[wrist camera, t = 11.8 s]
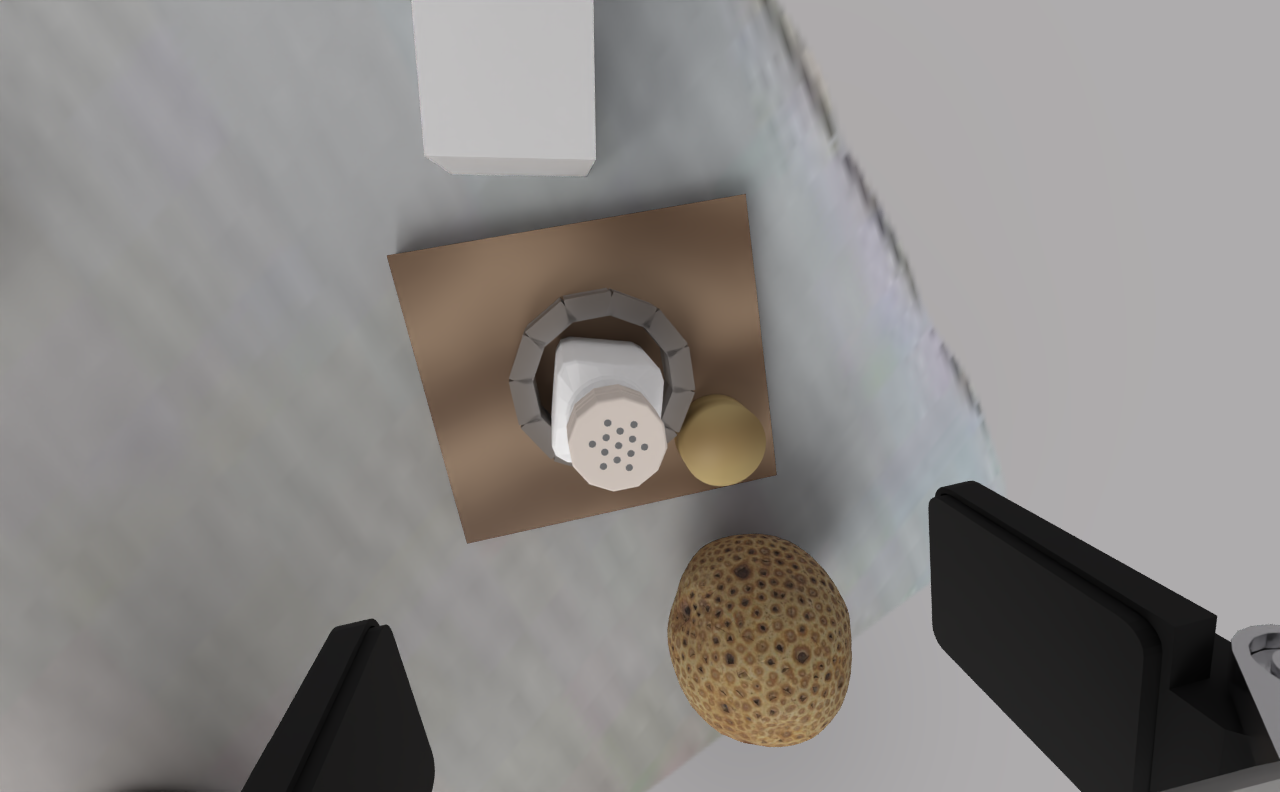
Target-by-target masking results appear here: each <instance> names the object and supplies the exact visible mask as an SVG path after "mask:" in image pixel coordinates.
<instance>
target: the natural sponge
mask: <svg viewBox="0 0 1280 792" xmlns="http://www.w3.org/2000/svg"><path fill="white" fill-rule="evenodd" d="M667 632H668V645H669V651H670V656H671V660H672V664H673V667H674V670H675V673H676V675H677V678H678V681H679V684H680V686H681V688H682V690H683V692H684V694H685V696H686V697H687V699H688V701H689V703H690V704H691V706H692V707H693V708H694V709H695V710H696V711H697V713H698V714H699V715H700V716H701V717H702V718H703V719H704V720H705V721H706V722H707V723H708V724H709V725H710V726H712V727H713V728H714V729H716V730H717V731H718V732H720V733H721V734H723V735H726V736H728V737H731V738H733V739H735V740H737V741H740V742H743V743H748V744H755V745H760V746H766V747H783V746H791V745H795V744H799V743H802V742H804V741H807V740H809V739H811V738H813V737H815V736H816V735H817V734H819V733H820V732H821V731H822V730H823V729H824V728H825V727H826V726H827V725H828V724H829V723H830V722H831V720H832V719H833V718H834V717H835V715H836V714H837V712H838V711H839V709H840V707H841V706H842V703H843V700H844V698H845V695H846V692H847V689H848V685H849V680H850V674H851V661H852V651H851V630H850V619H849V613H848V609H847V607H846V605H845V602H844V600H843V598H842V597H841V595H840V593H839V591H838V589H837V587H836V586H835V584H834V583H833V581H832V580H831V578H830V577H829V576H828V574H827V573H826V572H825V570H824V569H823V568H822V567H821V566H820V565H819V564H818V563H817V562H816V561H815V560H814V559H813V558H812V557H811V556H810V555H809V554H808V553H806V552H805V551H804V550H802V549H801V548H799V547H798V546H797V545H795V544H793V543H791V542H789V541H787V540H783V539H781V538H778V537H776V536H771V535H764V534H743V535H733V536H728V537H725V538H722V539H718V540H715V541H712V542H711V543H709V544H707V545H705V546H704V547H702V548H701V549H700V550H699V551H698V552H697V553H696V554H695V555H694V557H693V558H692V560H691V561H690V563H689V564H688V566H687V568H686V570H685V572H684V573H683V575H682V578H681V580H680V583H679V586H678V591H677V594H676V597H675V600H674V603H673V606H672V609H671V612H670V616H669V622H668V629H667Z"/></svg>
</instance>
